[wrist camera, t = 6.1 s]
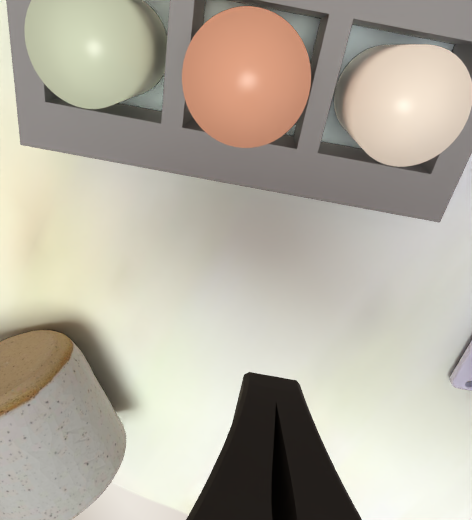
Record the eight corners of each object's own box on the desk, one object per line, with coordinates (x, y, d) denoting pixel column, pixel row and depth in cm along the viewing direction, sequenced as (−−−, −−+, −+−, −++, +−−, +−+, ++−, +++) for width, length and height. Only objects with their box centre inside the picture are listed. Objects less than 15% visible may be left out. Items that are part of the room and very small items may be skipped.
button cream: (442, 54, 15) (495, 56, 12) (406, 148, 17) (443, 175, 13) (349, 36, 15) (374, 33, 11) (323, 132, 17) (338, 155, 13)
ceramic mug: (90, 310, 22) (11, 424, 16) (144, 409, 26) (98, 536, 19) (-60, 338, 25) (-187, 449, 18) (8, 426, 28) (-75, 546, 21)
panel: (506, -7, 14) (548, -16, 12) (419, 201, 18) (439, 222, 16) (35, -99, 14) (-7, -125, 12) (49, 132, 18) (20, 144, 16)
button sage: (172, 2, 15) (143, -12, 11) (165, 103, 17) (137, 118, 13) (77, -17, 15) (18, -36, 11) (80, 86, 17) (29, 98, 13)
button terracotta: (311, 26, 14) (326, 20, 10) (288, 132, 15) (293, 158, 12) (209, 7, 14) (189, -7, 10) (197, 115, 15) (176, 136, 12)
